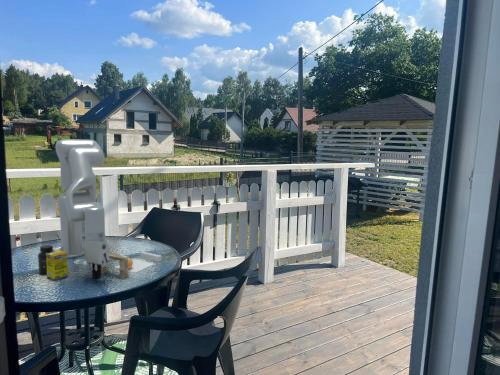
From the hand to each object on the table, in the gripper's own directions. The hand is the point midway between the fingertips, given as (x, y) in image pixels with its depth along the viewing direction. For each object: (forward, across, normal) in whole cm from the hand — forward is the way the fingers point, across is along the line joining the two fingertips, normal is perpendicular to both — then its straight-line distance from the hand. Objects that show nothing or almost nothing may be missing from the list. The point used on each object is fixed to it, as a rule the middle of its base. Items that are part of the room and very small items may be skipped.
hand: (96, 278), depth 156 cm
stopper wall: (+2, 0, -33) cm, 33 cm away
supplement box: (+2, +18, +5) cm, 19 cm away
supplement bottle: (+2, +26, +4) cm, 27 cm away
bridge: (+2, 0, -9) cm, 9 cm away
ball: (-1, 0, -17) cm, 17 cm away
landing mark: (+2, 0, -22) cm, 22 cm away
